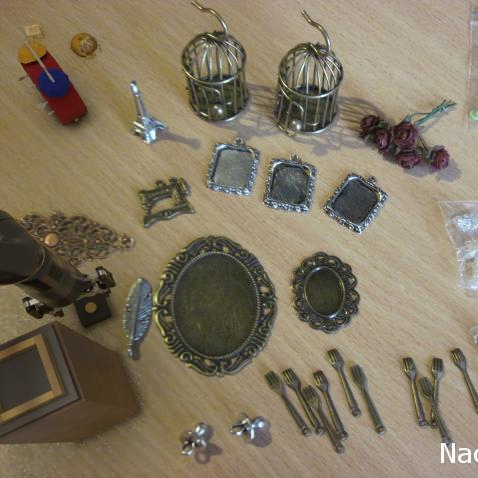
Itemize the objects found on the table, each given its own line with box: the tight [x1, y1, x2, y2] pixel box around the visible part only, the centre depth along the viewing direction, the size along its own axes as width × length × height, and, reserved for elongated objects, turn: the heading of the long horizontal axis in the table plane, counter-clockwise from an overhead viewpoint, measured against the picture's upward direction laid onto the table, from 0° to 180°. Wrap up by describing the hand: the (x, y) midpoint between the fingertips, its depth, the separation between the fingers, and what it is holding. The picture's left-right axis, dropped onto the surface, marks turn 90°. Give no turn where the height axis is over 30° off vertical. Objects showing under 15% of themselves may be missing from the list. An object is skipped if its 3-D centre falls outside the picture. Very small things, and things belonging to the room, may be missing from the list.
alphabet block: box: [23, 23, 45, 42], centre depth 129 cm, size 3×3×3 cm
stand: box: [0, 319, 141, 446], centre depth 88 cm, size 12×12×36 cm
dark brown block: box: [73, 293, 113, 329], centre depth 109 cm, size 5×5×4 cm
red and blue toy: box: [17, 39, 89, 126], centre depth 115 cm, size 15×9×20 cm, turn 38°
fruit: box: [70, 32, 103, 67], centre depth 129 cm, size 8×8×4 cm
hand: (84, 302), depth 102 cm, fingers open, 8 cm apart
